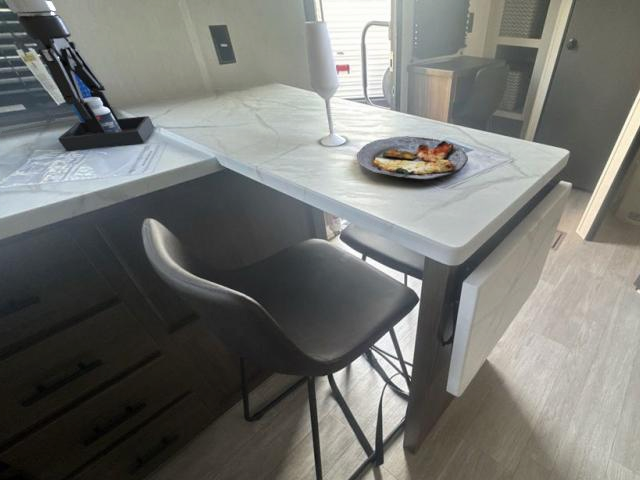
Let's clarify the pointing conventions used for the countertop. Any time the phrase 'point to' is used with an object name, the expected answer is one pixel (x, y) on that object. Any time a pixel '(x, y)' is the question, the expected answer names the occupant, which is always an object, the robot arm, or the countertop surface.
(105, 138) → the tray
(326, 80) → the champagne flute
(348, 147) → the countertop surface
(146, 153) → the countertop surface
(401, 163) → the food plate
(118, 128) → the pill bottle
